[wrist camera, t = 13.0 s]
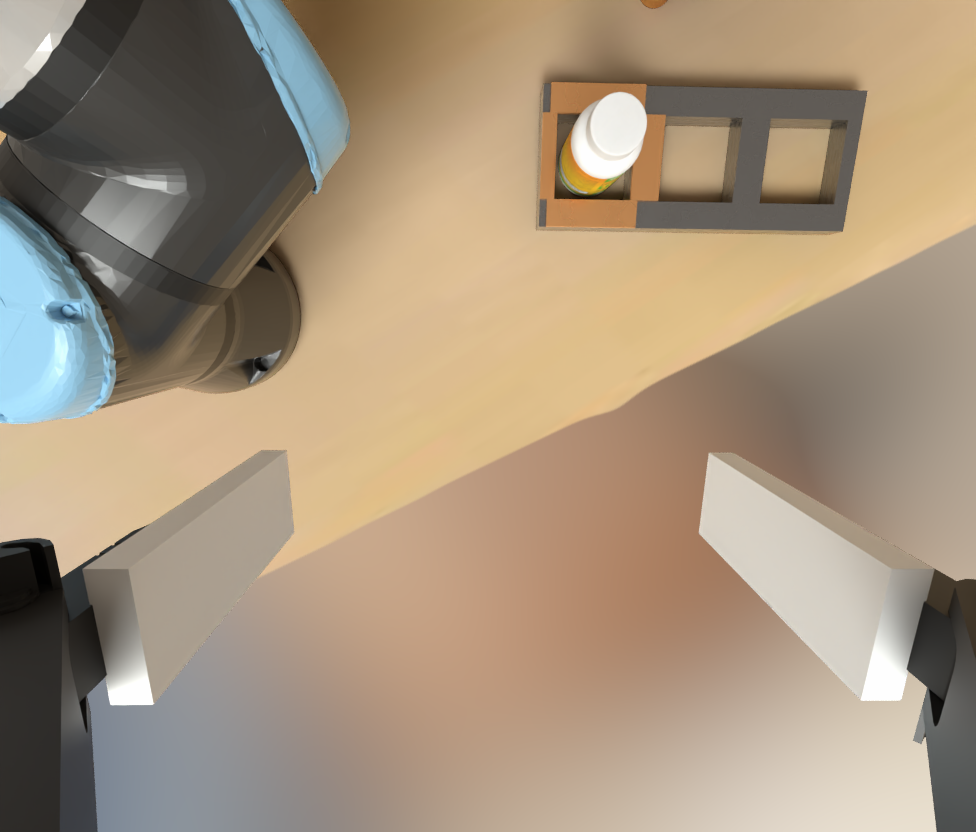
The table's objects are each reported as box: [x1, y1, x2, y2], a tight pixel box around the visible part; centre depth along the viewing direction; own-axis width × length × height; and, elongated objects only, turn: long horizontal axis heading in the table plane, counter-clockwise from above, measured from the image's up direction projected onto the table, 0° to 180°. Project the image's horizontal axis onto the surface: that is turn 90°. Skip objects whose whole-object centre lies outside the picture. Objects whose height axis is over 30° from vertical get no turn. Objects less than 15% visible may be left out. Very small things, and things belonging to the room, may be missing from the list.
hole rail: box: [536, 82, 867, 235], centre depth 40 cm, size 27×11×2 cm, turn 89°
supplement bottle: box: [558, 92, 647, 197], centre depth 37 cm, size 5×5×10 cm
